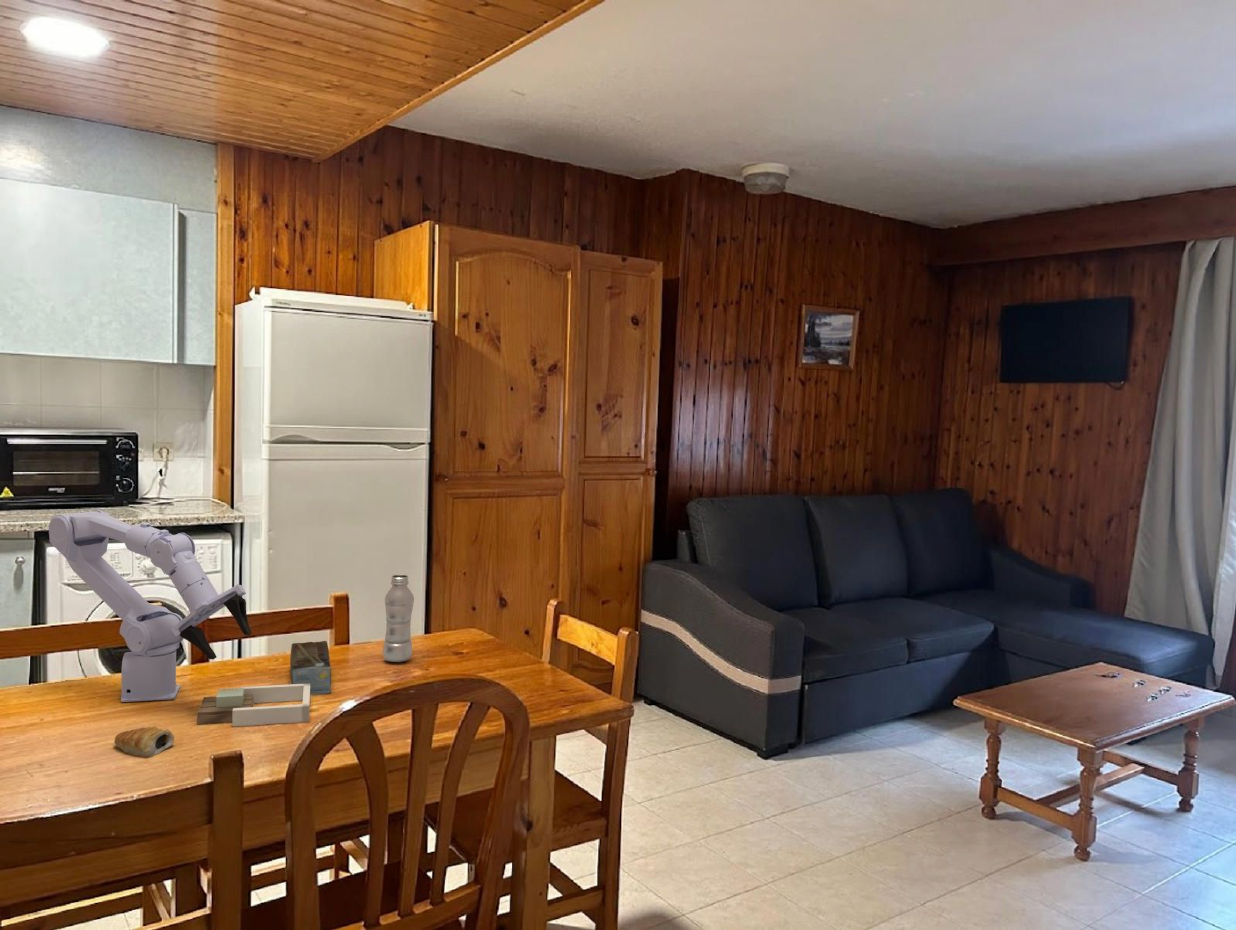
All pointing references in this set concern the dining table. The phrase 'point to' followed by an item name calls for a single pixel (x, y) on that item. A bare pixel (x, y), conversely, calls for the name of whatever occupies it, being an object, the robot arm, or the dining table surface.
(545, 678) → the dining table surface
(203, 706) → the pallet
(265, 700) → the dock
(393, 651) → the plastic bottle
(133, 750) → the pastry
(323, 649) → the beverage carton
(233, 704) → the pale green block
